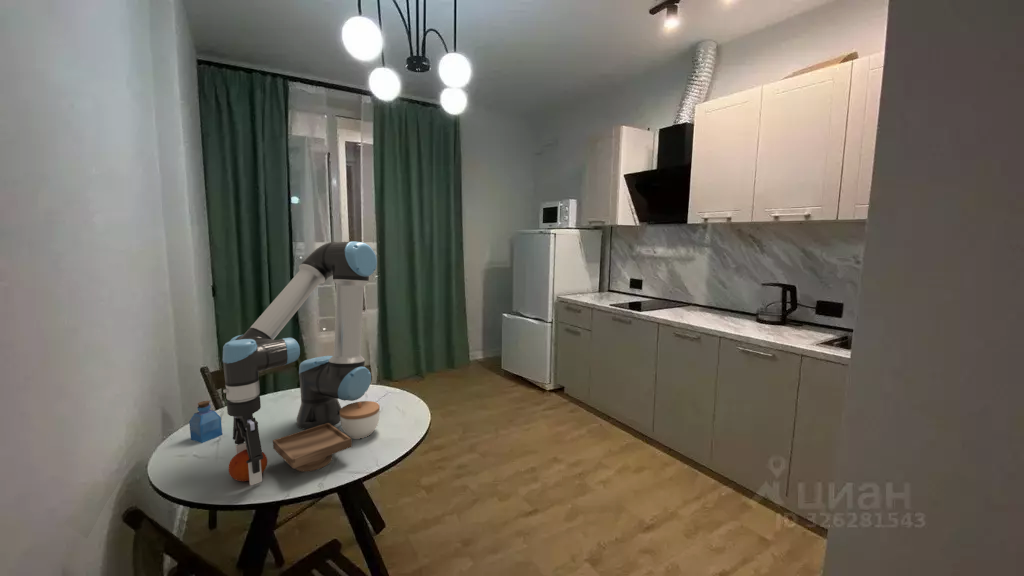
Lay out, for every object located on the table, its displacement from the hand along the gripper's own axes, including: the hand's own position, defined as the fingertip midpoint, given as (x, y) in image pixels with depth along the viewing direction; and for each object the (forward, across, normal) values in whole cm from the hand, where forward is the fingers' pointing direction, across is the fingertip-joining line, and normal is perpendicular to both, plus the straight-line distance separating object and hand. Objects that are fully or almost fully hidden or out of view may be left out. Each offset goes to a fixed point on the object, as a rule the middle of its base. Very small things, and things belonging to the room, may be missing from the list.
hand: (249, 474), depth 111 cm
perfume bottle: (+1, -38, -3) cm, 38 cm away
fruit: (+1, 0, 0) cm, 1 cm away
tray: (+1, +5, +15) cm, 16 cm away
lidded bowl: (+1, -2, +33) cm, 33 cm away
